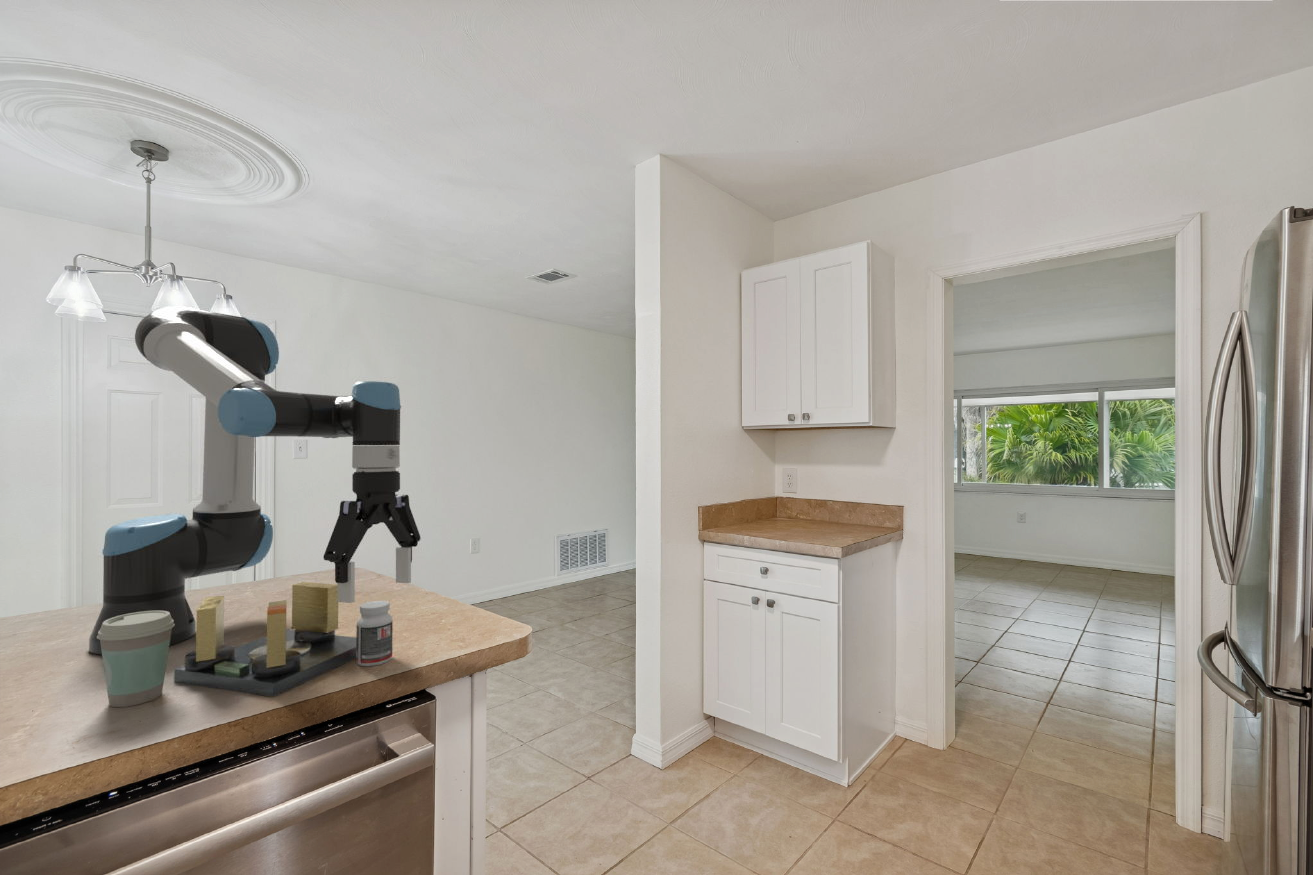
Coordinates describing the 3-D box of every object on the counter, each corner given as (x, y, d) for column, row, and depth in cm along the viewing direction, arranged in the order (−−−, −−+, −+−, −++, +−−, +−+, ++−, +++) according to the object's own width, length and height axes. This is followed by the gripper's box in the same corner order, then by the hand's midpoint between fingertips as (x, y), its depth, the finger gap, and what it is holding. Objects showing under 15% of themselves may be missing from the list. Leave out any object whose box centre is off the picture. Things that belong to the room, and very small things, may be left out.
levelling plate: (174, 681, 91) (174, 661, 91) (285, 639, 110) (286, 623, 110) (273, 697, 86) (273, 675, 86) (372, 650, 105) (372, 632, 105)
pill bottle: (399, 658, 101) (400, 602, 101) (371, 669, 96) (372, 610, 96) (376, 652, 104) (377, 598, 104) (348, 663, 99) (349, 606, 99)
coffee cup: (129, 687, 89) (130, 609, 89) (187, 685, 89) (188, 608, 90) (78, 713, 80) (79, 627, 80) (143, 711, 81) (144, 626, 81)
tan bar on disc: (253, 666, 92) (254, 600, 92) (300, 658, 96) (300, 594, 96) (250, 683, 85) (251, 612, 86) (300, 674, 89) (301, 606, 89)
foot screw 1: (190, 659, 95) (191, 599, 95) (237, 652, 98) (238, 594, 98) (179, 676, 88) (180, 611, 88) (230, 668, 91) (231, 606, 91)
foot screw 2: (281, 643, 103) (282, 587, 103) (312, 631, 109) (312, 579, 109) (317, 647, 100) (318, 590, 101) (346, 635, 107) (347, 582, 107)
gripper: (337, 473, 87) (336, 613, 87) (439, 467, 111) (439, 576, 111) (297, 473, 89) (297, 609, 89) (407, 467, 113) (407, 574, 113)
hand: (376, 591), depth 100 cm, fingers open, 13 cm apart
